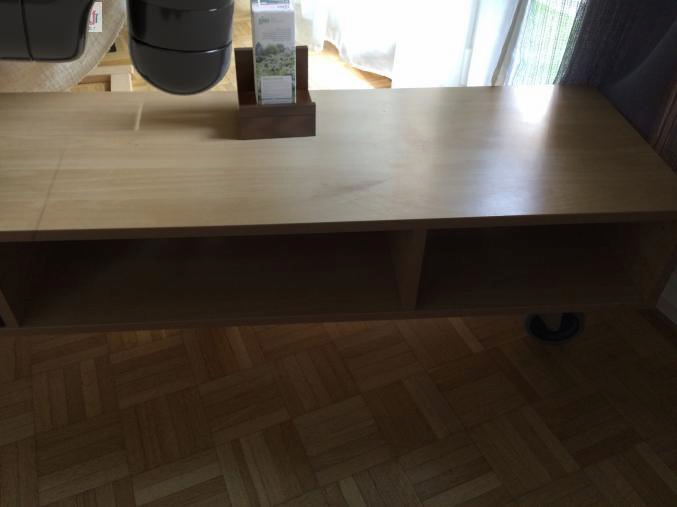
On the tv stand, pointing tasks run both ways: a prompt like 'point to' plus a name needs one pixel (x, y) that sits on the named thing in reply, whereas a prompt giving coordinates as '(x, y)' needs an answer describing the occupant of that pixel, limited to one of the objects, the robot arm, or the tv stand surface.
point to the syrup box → (273, 51)
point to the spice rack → (274, 116)
